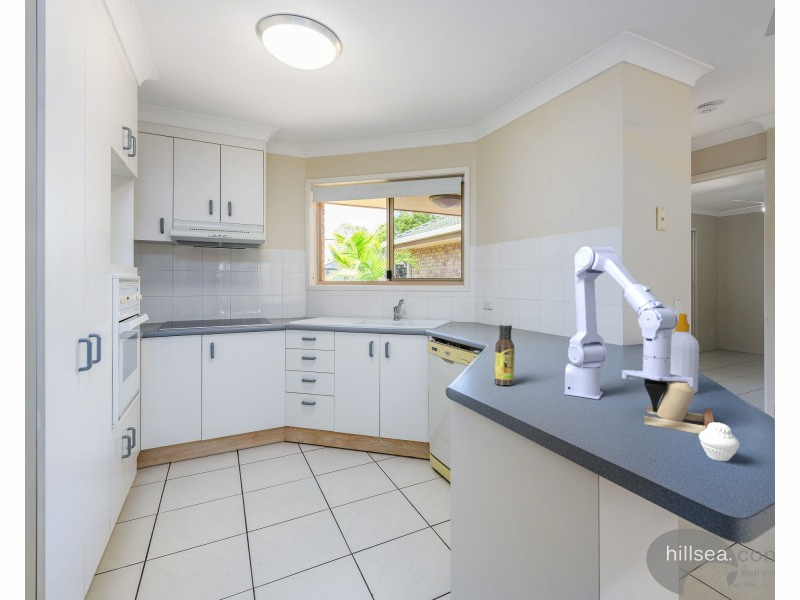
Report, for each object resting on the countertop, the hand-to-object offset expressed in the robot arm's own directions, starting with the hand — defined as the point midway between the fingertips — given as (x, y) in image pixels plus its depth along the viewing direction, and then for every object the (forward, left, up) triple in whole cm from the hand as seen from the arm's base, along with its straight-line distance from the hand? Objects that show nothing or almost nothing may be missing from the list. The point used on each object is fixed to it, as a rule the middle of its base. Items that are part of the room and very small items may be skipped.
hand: (655, 410), depth 97 cm
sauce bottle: (-42, +11, -2) cm, 44 cm away
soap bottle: (+5, +35, -2) cm, 36 cm away
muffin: (+11, -18, -2) cm, 21 cm away
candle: (+3, 0, -2) cm, 3 cm away
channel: (+5, 0, -2) cm, 5 cm away
